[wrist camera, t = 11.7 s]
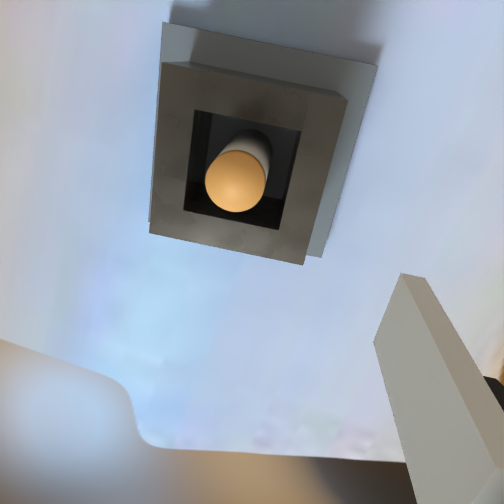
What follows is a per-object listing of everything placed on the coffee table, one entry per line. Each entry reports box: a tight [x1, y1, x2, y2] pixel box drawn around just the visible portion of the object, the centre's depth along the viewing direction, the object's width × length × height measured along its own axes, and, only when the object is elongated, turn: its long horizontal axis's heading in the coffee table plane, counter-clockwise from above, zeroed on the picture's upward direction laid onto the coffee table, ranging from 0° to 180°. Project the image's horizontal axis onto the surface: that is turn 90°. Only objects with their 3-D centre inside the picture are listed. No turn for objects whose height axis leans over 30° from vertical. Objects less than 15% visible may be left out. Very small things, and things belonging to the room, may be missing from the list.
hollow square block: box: [149, 61, 348, 265], centre depth 26 cm, size 10×10×6 cm
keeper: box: [148, 22, 378, 258], centre depth 25 cm, size 14×14×9 cm
